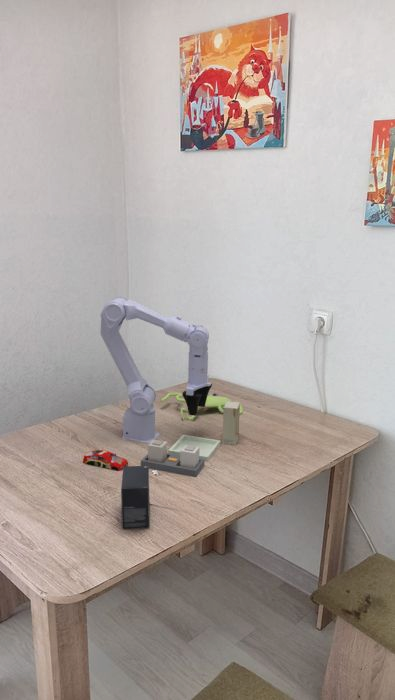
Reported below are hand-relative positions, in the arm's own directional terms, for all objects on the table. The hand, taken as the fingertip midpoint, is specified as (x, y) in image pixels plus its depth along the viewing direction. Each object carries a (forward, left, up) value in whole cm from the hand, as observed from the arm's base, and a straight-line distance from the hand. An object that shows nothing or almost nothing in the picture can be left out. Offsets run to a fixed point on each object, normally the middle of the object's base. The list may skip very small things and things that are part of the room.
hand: (197, 410), depth 170 cm
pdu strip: (0, -20, -10) cm, 22 cm away
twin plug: (-4, -20, -9) cm, 22 cm away
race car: (-18, -25, -10) cm, 32 cm away
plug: (+5, -20, -9) cm, 22 cm away
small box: (+1, -45, -10) cm, 46 cm away
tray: (+2, -7, -10) cm, 12 cm away
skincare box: (+10, +3, -10) cm, 15 cm away
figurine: (-7, +25, -11) cm, 28 cm away
